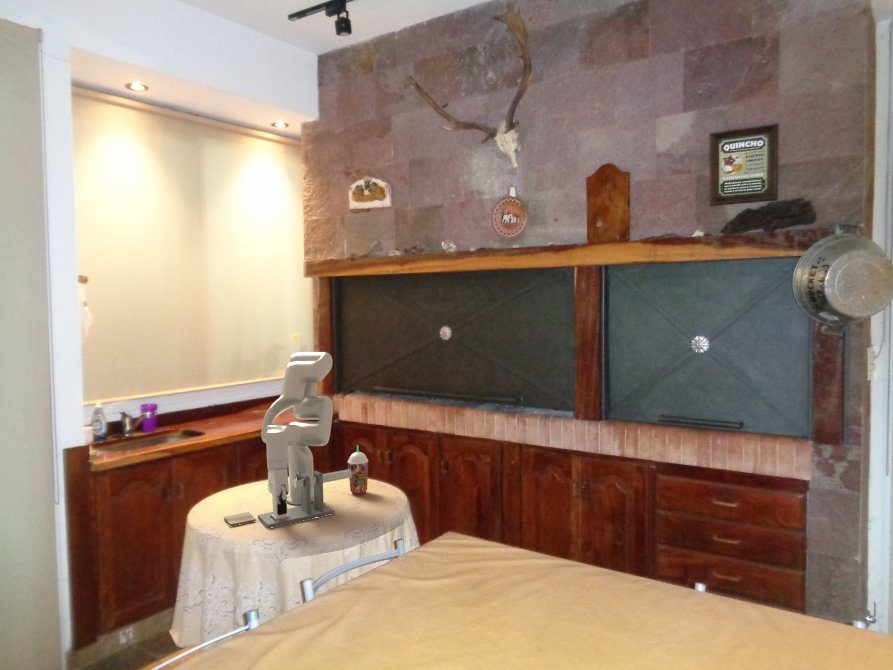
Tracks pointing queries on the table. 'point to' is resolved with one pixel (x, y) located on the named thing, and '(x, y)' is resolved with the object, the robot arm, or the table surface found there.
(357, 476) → the smoothie
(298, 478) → the bolt
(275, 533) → the table surface
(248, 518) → the pad
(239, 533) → the table surface
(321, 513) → the socket block
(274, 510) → the plug
